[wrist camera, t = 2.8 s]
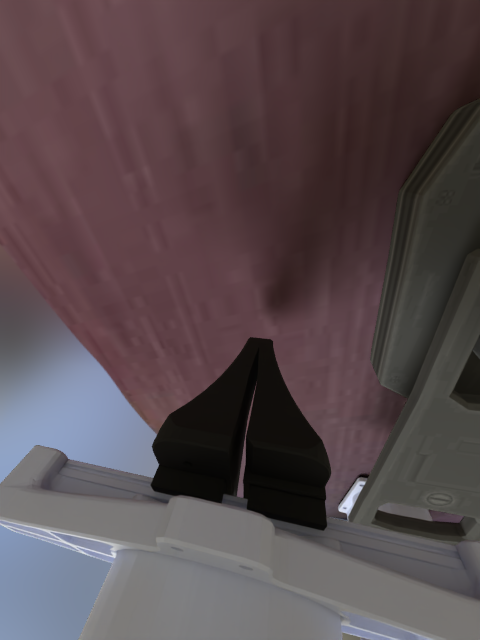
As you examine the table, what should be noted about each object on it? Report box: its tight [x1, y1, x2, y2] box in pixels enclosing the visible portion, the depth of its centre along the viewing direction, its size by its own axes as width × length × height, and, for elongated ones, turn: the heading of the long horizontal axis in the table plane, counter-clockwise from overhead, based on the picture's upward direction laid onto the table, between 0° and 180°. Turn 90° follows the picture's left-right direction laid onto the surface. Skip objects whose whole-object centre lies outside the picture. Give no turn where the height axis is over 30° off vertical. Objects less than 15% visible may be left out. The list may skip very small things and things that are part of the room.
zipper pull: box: [348, 99, 480, 546], centre depth 11 cm, size 9×7×25 cm
